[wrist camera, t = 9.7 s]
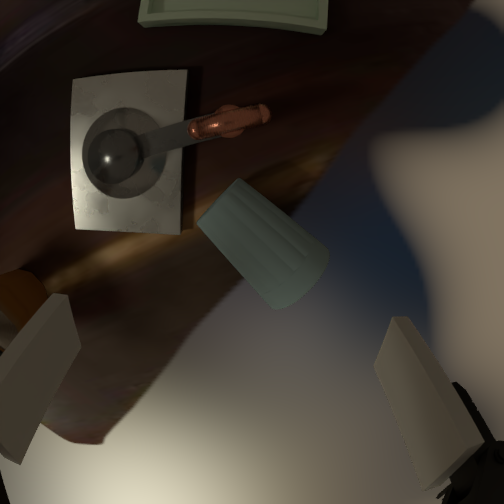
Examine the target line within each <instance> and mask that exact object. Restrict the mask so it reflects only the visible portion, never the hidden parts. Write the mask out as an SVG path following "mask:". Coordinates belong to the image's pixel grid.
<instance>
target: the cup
mask: <svg viewBox="0 0 504 504" xmlns="http://www.w3.org/2000/svg"><path fill="white" fill-rule="evenodd" d="M197 225H198V226H199V227H200V228H201V229H202V231H203V232H204V233H205V234H206V235H207V236H208V237H209V239H210V240H211V241H212V242H213V243H214V244H215V245H216V247H217V248H218V249H219V250H220V251H221V252H222V253H223V255H224V256H225V257H226V258H227V259H228V260H229V261H230V262H231V264H232V265H233V266H234V267H235V268H236V269H237V270H238V271H239V272H240V274H241V275H242V276H243V277H244V278H245V279H246V280H247V281H248V283H249V284H250V285H251V286H252V287H253V288H254V289H255V290H256V291H257V293H258V294H259V295H260V296H261V297H262V298H263V300H265V302H266V303H267V304H268V305H269V306H270V307H271V308H273V309H283V308H285V307H288V306H290V305H291V304H293V303H295V302H296V301H298V300H299V299H300V298H302V296H304V295H305V294H306V293H307V292H308V291H309V290H310V289H311V288H312V287H313V286H314V285H315V284H316V282H317V281H318V280H319V278H320V277H321V276H322V274H323V272H324V271H325V269H326V267H327V264H328V261H329V257H330V253H329V250H328V248H327V247H325V246H324V245H323V244H322V243H320V242H319V241H318V240H317V239H316V238H315V237H313V236H312V235H311V234H310V233H308V232H307V231H306V230H305V229H303V228H302V227H301V226H300V225H299V224H297V223H296V222H295V221H294V220H292V219H291V218H290V217H289V216H288V215H286V214H285V213H284V212H283V211H281V210H280V209H279V208H278V207H276V206H275V205H274V204H273V203H271V202H270V201H269V200H268V199H266V198H265V197H264V196H263V195H261V194H260V193H259V192H257V191H256V190H255V189H254V188H252V187H251V186H250V185H248V184H247V183H246V182H245V181H243V180H242V179H240V178H238V179H237V180H236V181H235V182H234V183H232V184H231V185H230V186H229V187H228V188H227V189H226V190H225V191H224V192H223V193H222V195H221V196H220V197H219V198H218V199H217V200H216V201H215V202H214V203H213V204H212V205H211V206H210V207H209V208H208V209H207V211H206V212H205V213H204V214H203V215H202V216H201V217H200V219H199V220H198V221H197Z"/></svg>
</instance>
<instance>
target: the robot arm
mask: <svg viewBox="0 0 504 504" xmlns="http://www.w3.org/2000/svg"><path fill="white" fill-rule="evenodd" d="M80 348H81V344H80V341H79V337H78V334H77V330H76V326H75V323H74V319H73V315H72V311H71V307H70V303H69V298H68V295H64V294H57V293H53V294H52V295H51V296H50V297H49V298H48V299H47V300H46V302H45V303H44V304H43V305H42V306H41V307H40V308H39V309H38V311H37V312H36V313H35V314H34V315H33V316H32V318H31V319H30V320H29V321H28V322H27V324H26V325H25V326H24V327H23V328H22V330H21V331H20V332H19V333H18V335H17V336H16V337H15V338H14V339H13V341H12V342H11V343H10V345H9V346H8V347H7V348H6V350H5V351H4V352H3V354H2V353H0V453H1V454H2V455H3V456H4V457H5V458H7V459H9V460H10V461H13V462H15V463H17V464H19V465H21V463H22V460H23V458H24V456H25V454H26V451H27V449H28V447H29V445H30V443H31V441H32V438H33V436H34V434H35V432H36V430H37V428H38V426H39V424H40V422H41V420H42V418H43V416H44V414H45V412H46V410H47V408H48V406H49V404H50V402H51V400H52V399H53V397H54V395H55V393H56V391H57V389H58V387H59V385H60V384H61V382H62V380H63V378H64V376H65V375H66V373H67V371H68V369H69V367H70V366H71V364H72V362H73V360H74V359H75V357H76V355H77V354H78V352H79V350H80ZM373 367H374V369H375V372H376V374H377V376H378V379H379V381H380V383H381V386H382V388H383V390H384V393H385V395H386V397H387V400H388V402H389V404H390V407H391V409H392V412H393V414H394V417H395V419H396V422H397V424H398V426H399V429H400V432H401V434H402V437H403V439H404V442H405V445H406V447H407V450H408V452H409V455H410V458H411V461H412V463H413V466H414V468H415V471H416V474H417V477H418V480H419V483H420V485H421V488H422V491H425V490H429V489H431V488H435V487H437V486H440V485H441V484H442V483H444V482H445V481H446V480H447V479H448V478H450V480H451V484H450V485H448V486H447V487H446V488H445V489H444V490H443V491H441V492H440V493H439V494H438V496H437V497H436V498H437V499H439V498H440V497H441V496H443V495H444V494H445V496H444V498H443V499H442V500H443V501H442V504H504V441H496V440H495V439H494V437H493V435H492V434H491V432H490V430H489V428H488V426H487V425H486V423H485V421H484V419H483V418H482V416H481V414H480V413H479V411H477V407H476V406H475V404H474V403H472V400H471V398H470V396H469V394H468V393H467V391H466V390H465V389H464V388H463V387H462V386H460V385H459V384H458V383H457V382H453V383H451V382H450V380H449V379H448V377H447V375H446V374H445V372H444V370H443V369H442V367H441V366H440V364H439V363H438V361H437V360H436V358H435V356H434V355H433V353H432V352H431V350H430V349H429V347H428V346H427V344H426V343H425V341H424V340H423V338H422V337H421V335H420V334H419V332H418V331H417V329H416V328H415V327H414V325H413V323H412V322H411V321H410V319H409V318H408V317H392V319H391V322H390V325H389V328H388V330H387V333H386V336H385V338H384V341H383V343H382V346H381V348H380V351H379V353H378V356H377V358H376V361H375V363H374V365H373ZM0 504H10V502H9V499H8V496H7V493H6V489H5V486H4V483H3V479H2V476H1V472H0Z"/></svg>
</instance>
